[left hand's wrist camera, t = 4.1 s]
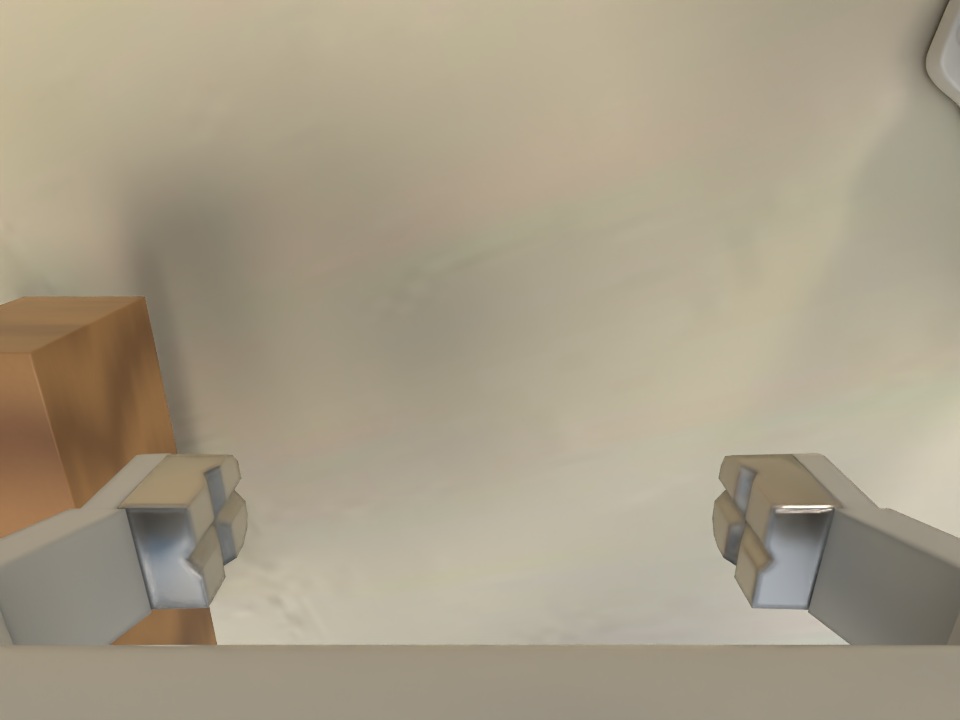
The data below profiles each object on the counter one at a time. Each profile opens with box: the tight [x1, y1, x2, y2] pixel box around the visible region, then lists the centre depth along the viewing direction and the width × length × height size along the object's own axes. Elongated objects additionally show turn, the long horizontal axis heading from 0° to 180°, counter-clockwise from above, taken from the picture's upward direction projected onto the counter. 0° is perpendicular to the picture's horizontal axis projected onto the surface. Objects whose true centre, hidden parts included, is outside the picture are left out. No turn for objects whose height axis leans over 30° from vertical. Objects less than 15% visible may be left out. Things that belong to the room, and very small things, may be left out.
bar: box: [0, 297, 217, 645], centre depth 29 cm, size 23×6×8 cm, turn 0°
